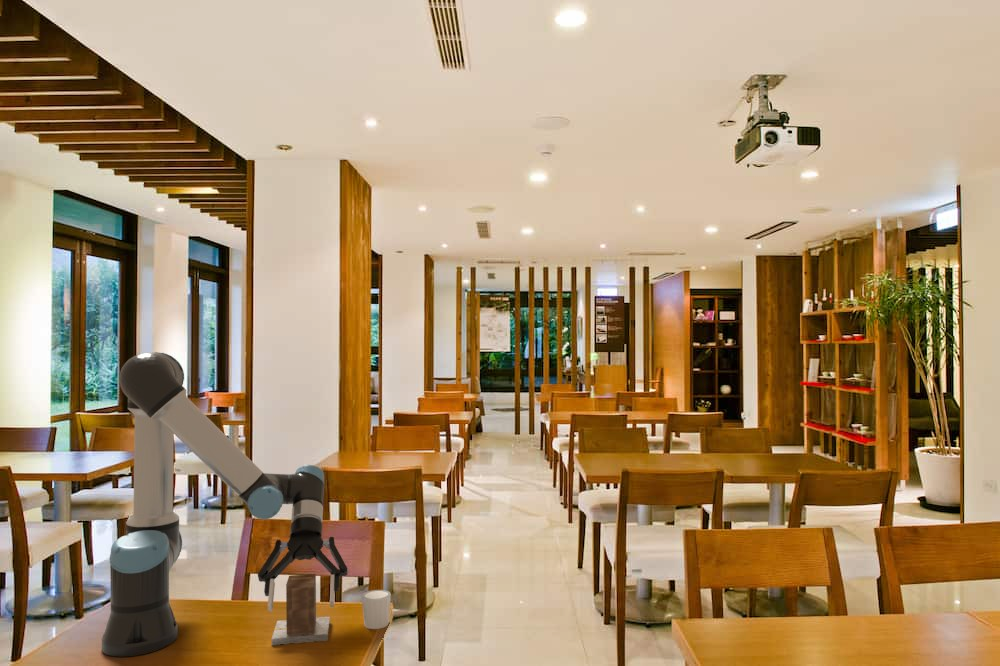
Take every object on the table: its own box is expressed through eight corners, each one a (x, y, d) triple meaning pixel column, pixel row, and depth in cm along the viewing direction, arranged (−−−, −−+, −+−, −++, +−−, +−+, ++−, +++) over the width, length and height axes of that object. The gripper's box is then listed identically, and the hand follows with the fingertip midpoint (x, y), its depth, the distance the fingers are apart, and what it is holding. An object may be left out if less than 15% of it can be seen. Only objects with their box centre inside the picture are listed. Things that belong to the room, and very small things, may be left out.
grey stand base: (271, 645, 152) (271, 616, 152) (277, 627, 161) (277, 599, 162) (327, 640, 154) (327, 611, 154) (329, 622, 164) (329, 595, 164)
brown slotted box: (286, 633, 154) (286, 583, 154) (289, 623, 160) (289, 574, 160) (314, 631, 155) (313, 581, 156) (316, 620, 161) (315, 572, 161)
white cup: (384, 631, 159) (384, 600, 159) (357, 629, 160) (356, 598, 160) (395, 619, 165) (395, 590, 166) (368, 617, 167) (368, 588, 167)
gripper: (358, 528, 176) (357, 609, 161) (256, 533, 171) (245, 618, 156) (357, 512, 171) (357, 594, 156) (252, 517, 166) (241, 603, 151)
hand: (301, 606), depth 156 cm, fingers open, 13 cm apart
